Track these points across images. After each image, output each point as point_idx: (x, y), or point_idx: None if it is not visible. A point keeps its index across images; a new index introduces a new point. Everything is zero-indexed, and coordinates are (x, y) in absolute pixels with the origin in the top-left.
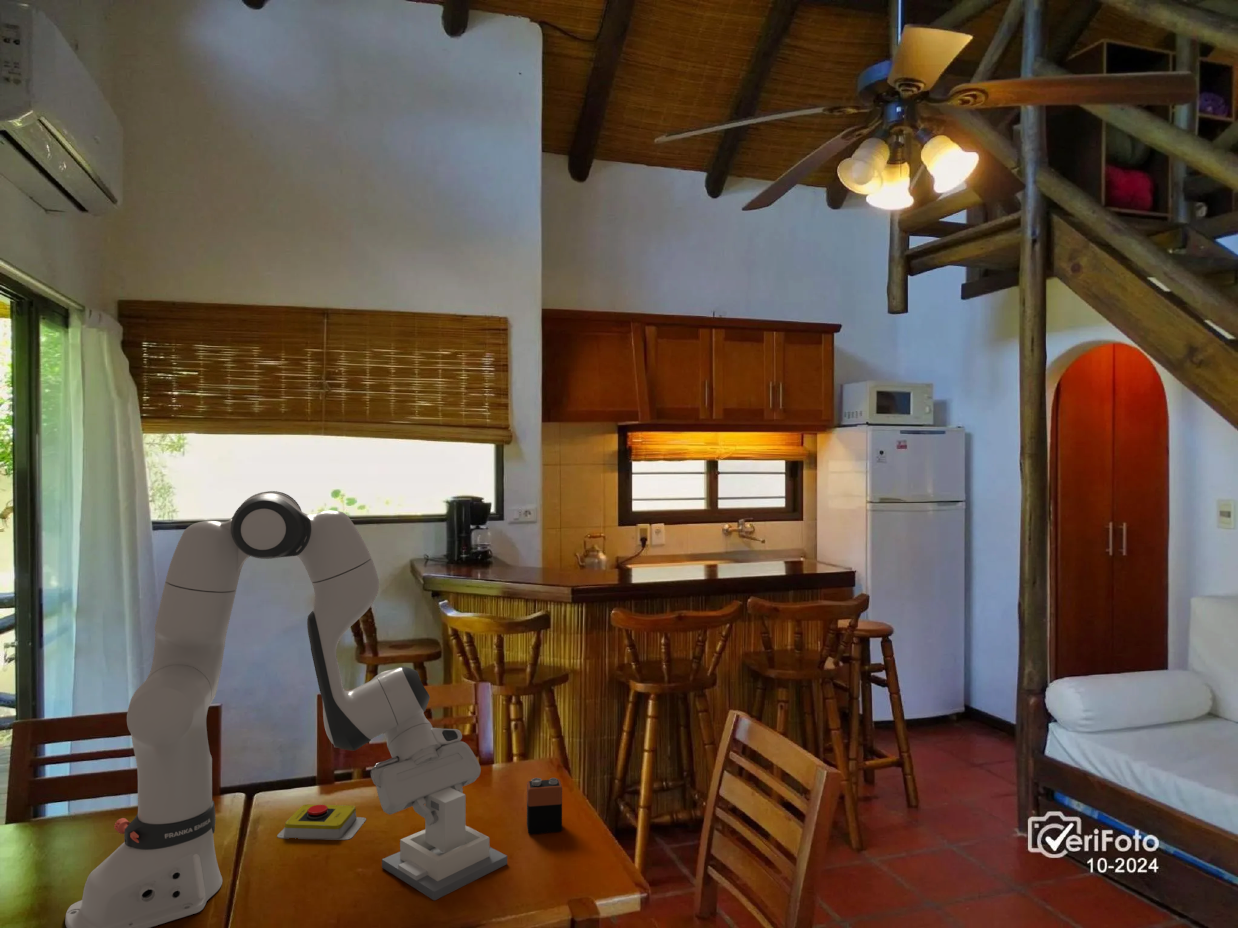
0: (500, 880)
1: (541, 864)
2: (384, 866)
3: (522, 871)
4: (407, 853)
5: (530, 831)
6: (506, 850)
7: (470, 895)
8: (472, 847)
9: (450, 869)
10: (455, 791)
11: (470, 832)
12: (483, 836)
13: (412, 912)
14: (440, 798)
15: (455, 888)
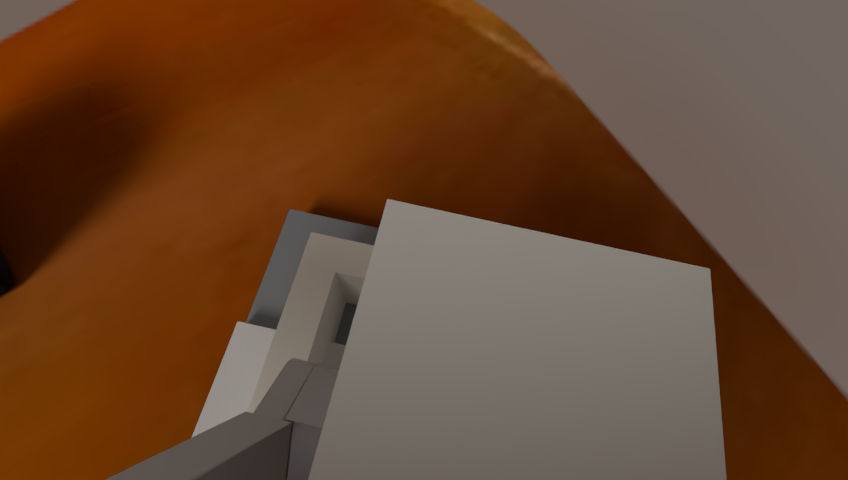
0: (406, 183)
1: (250, 126)
2: None
3: (320, 154)
4: None
5: (7, 273)
6: (196, 288)
7: (535, 213)
8: None
9: None
10: (373, 384)
11: (306, 360)
12: (316, 264)
13: (734, 314)
14: (677, 421)
15: None
